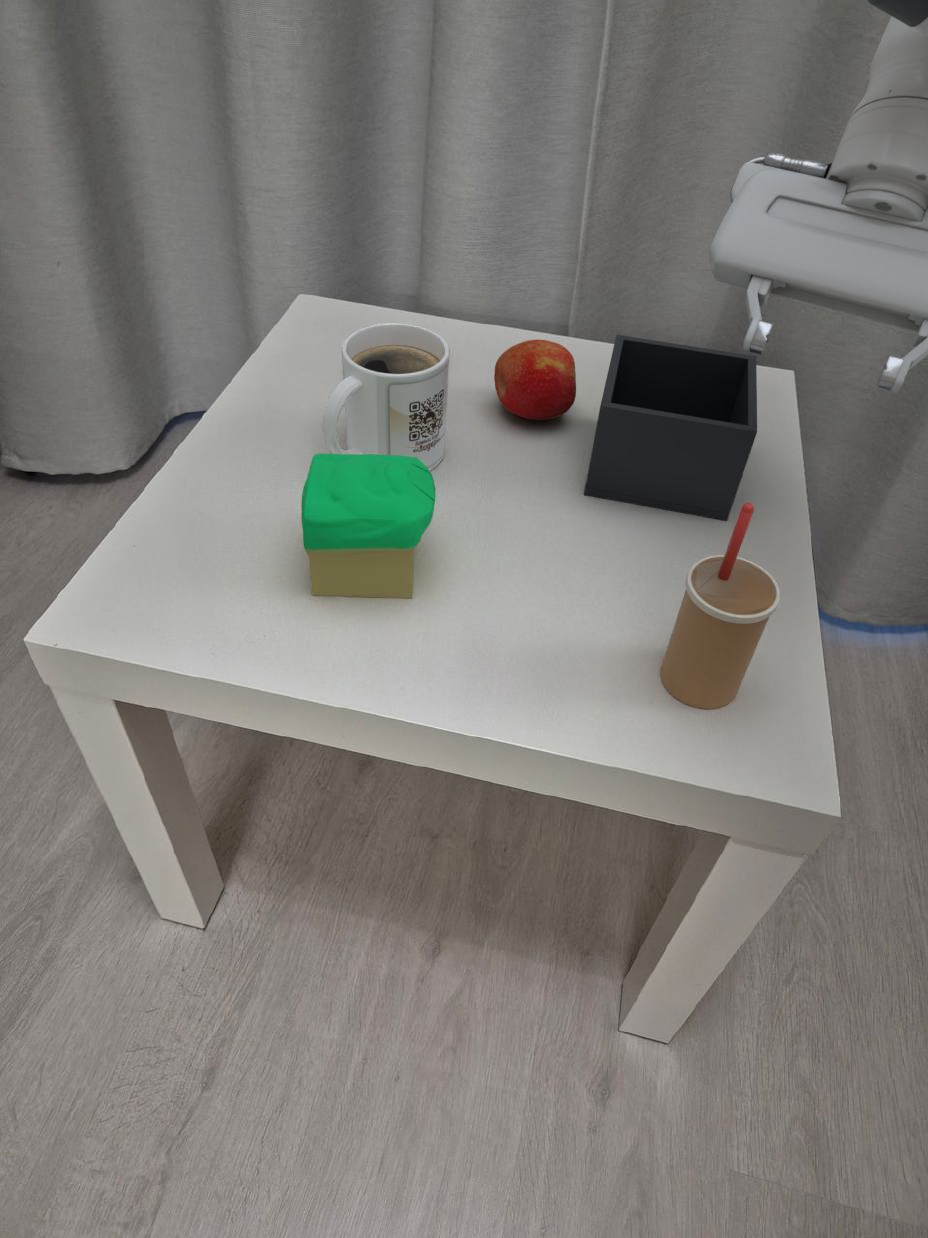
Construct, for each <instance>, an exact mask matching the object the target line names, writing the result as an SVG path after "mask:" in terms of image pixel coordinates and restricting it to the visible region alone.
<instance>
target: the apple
mask: <svg viewBox="0 0 928 1238" xmlns="http://www.w3.org/2000/svg"><path fill="white" fill-rule="evenodd" d="M494 365H495V366H494V374H493V375H494V376H493V379H494V386H495V387H494V388H495V391H496V394H497V397H498V400H499V402H500V404H501V405H502V406H503V408H504V409H505V410H506V411H507V412H508V413H511V414H512V415H515V416H516V417H519V418H522V419H526V420H534V421H545V420H546V421H547V420H551V419H555V418H557V417H560V416H562V415H564V414H566V413H567V412H568V411H570V409H571V408H572V407H573V405H574V403H575V401H576V397H577V375H576V374H577V373H576V372H577V371H576V362H575V359H574V356H573V354H572V353H571V351H569V350H568V348H566V347H565V346H564V345H562V344H561V343H557V342H554V341H551V340H545V339H528V340H525V341H522V342H519V343H516V344H514V345H512V346H511V347H509V348H507V349H506V350H505V351H503V353H501V355H500V356H499V357H498V359H497V361H496V362H495V364H494Z"/></svg>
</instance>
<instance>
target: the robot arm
mask: <svg viewBox="0 0 928 1238" xmlns="http://www.w3.org/2000/svg"><path fill="white" fill-rule="evenodd" d="M866 1H867V3H868V4H870V5H871V6H874V7H875V8H876V9H879V10H880V11H882V12H883V13H886V14H887V15H889V16H891V17H890V18H889V21H888V23H887V26H886V27H885V30H884V32H883V33H882V37H881V39H880V42H879V44H878V47H877V49H876V51H875V54H874V56H873V59H872V61H871V64H870V69H869V73H868V74H869V75H868V84H867V89H866V91H865V93H864V95H863V98H862V99H861V100H860V101H859V103H858V104H857V105H856V106H855V108H854V110H853V111H852V113H851V115H850V116H849V119H848V121H847V123H846V127H845V129H844V131H843V134H842V137H841V138H840V142H839V144H838V147H837V149H836V151H835V154H834V156H833V158H832V162H830V163H828V162H822V161H818V160H813V159H806V158H804V159H803V158H796V157H790V156H787V155H786V154H784V153H780V152H767V154H766V155H765V156H759V157H754V158H751V159H750V160H748V161H747V162H745V163H743V165H742V166H741V167H740V168H739V170H738V172H737V174H736V176H735V179H734V181H733V184H732V185H731V186H732V187H731V189H730V194H729V195H730V196H729V201H730V206H729V207H728V209H727V211H726V212H725V214H724V217H723V219H722V221H721V222H720V224H719V227H718V228H717V230H716V233H715V234H714V237H713V239H712V242H711V245H710V247H709V253H708V263H709V268H710V271H711V272H712V276H713V278H714V279H715V280H716V281H718V282H721V283H724V284H727V285H732V286H735V287H739V288H744V289H746V296H745V306H746V312H747V317H748V324H749V326H748V328H747V329H748V330H747V332H746V334H745V337H744V340H743V344H742V350H743V351H747V352H750V353H754V354H757V355H762V356H763V355H764V353H765V351H766V348H767V344H768V343H769V341H770V339H771V335H772V331H773V323H769V322H767V321H764V320H763V319H762V313H761V308H764V307H766V305H767V302H768V300H769V297H770V296H775V297H779V298H783V299H786V300H789V301H794V302H797V303H801V304H805V305H809V306H813V307H815V308H816V307H817V308H821V309H825V310H828V311H832V312H836V313H839V314H844V315H846V316H847V315H848V316H852V317H856V318H859V319H863V320H867V321H871V322H874V323H878V324H881V325H887V326H890V327H894V328H897V329H902V330H905V331H910V332H913V333H915V336H914V337H913V341H912V344H911V346H912V347H913V349H911V350H910V351H909V352H908V353H907V354H905V355H904V356H903V357H902V358H901V357H897V356H894V355H893V356H892V355H889V356H888V358H887V360H886V362H885V363H884V365H883V368H882V370H881V375H880V376H879V378H878V380H877V383H876V386H875V387H877V388H880V389H884V390H888V391H890V392H893V393H899V391H900V390H901V387H902V386H903V384H904V382H905V379H906V378H907V375H908V372H909V371H910V370H911V369H912V368H913V367H915V366H917V364H918V363H920V362H921V361H922V360H923V359H925V358H926V357H927V356H928V0H866Z"/></svg>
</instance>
